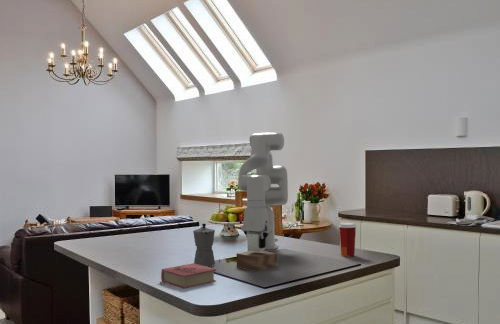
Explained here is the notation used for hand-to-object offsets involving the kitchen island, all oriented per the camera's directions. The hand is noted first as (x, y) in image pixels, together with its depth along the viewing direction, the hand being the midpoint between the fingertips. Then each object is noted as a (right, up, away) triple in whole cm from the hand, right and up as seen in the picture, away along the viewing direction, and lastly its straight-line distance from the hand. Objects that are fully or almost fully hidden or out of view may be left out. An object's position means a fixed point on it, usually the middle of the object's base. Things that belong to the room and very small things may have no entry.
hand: (256, 246), depth 197 cm
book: (-26, -9, -23) cm, 36 cm away
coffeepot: (-23, -9, +5) cm, 25 cm away
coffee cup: (+43, -8, +22) cm, 49 cm away
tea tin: (0, -2, 0) cm, 2 cm away
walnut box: (0, -9, 0) cm, 9 cm away
